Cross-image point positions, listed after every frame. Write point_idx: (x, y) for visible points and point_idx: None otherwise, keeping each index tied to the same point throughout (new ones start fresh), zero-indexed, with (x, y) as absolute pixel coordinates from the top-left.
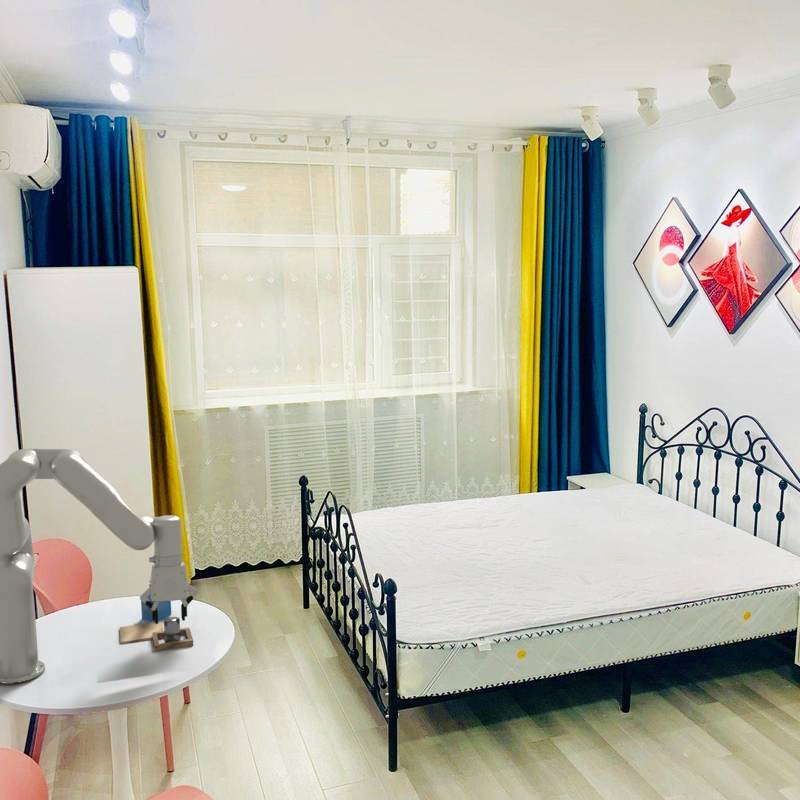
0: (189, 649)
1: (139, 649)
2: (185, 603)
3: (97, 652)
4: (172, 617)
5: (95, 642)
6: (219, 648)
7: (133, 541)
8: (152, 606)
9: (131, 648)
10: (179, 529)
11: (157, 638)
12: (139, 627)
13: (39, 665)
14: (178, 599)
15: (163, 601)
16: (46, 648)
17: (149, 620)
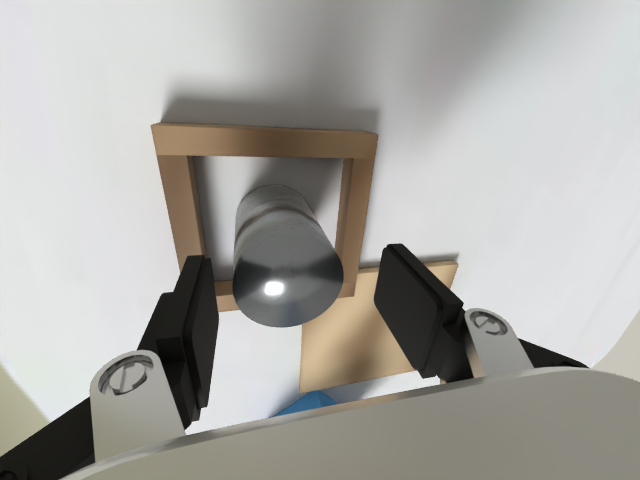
0: (182, 62)
1: (416, 184)
2: (129, 396)
3: (532, 214)
4: (281, 318)
5: (502, 293)
6: None
7: None
8: (516, 339)
9: (437, 207)
10: None
11: (347, 229)
12: (373, 360)
13: None
14: (221, 433)
15: (477, 379)
16: (597, 287)
17: (333, 403)
